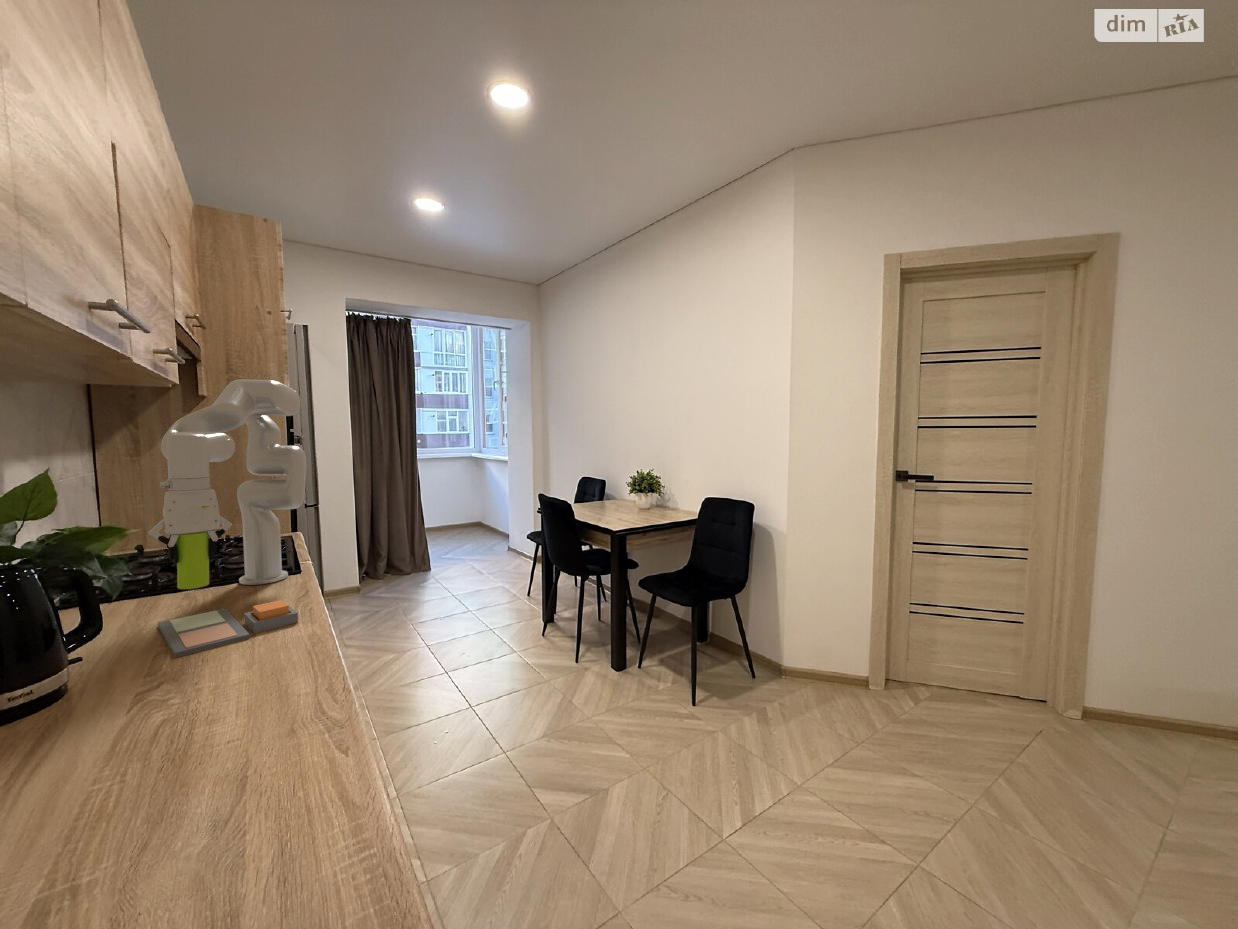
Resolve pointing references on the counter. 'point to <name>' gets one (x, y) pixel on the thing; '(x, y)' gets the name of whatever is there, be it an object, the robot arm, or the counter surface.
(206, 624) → the gray board
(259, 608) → the button
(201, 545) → the soap dispenser
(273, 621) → the button housing
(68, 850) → the counter surface
